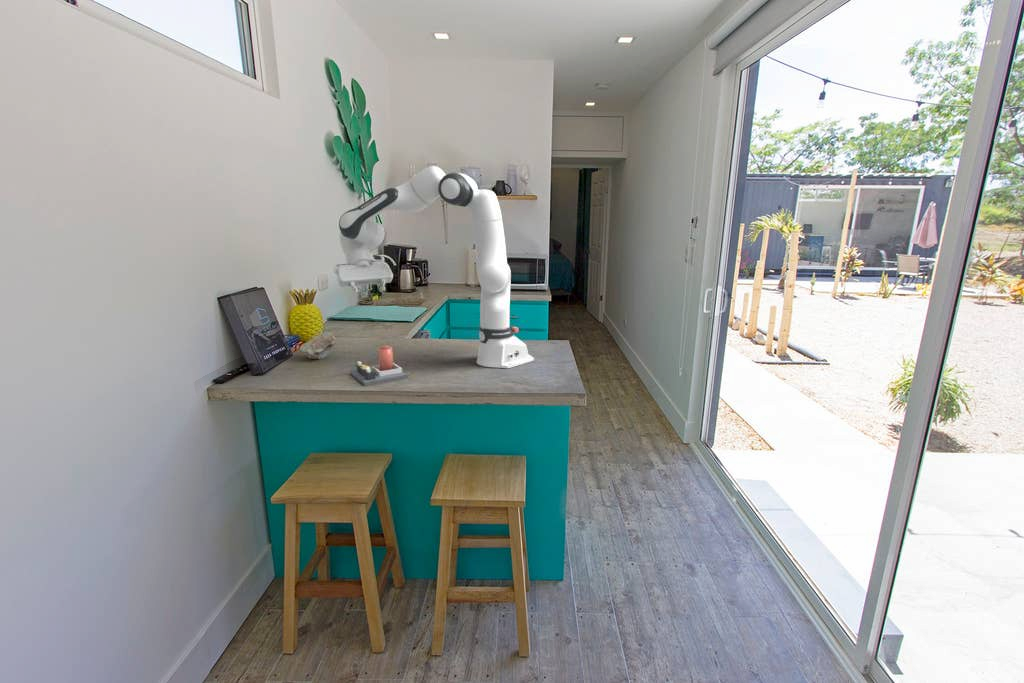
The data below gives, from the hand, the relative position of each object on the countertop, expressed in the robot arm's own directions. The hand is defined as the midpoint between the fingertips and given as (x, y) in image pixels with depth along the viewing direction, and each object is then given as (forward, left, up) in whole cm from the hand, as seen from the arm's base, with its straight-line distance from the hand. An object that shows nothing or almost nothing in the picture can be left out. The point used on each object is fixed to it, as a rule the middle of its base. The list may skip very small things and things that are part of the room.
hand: (371, 291), depth 185 cm
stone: (+17, -17, -27) cm, 37 cm away
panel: (+5, +16, -27) cm, 32 cm away
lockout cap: (+2, +16, -26) cm, 31 cm away
